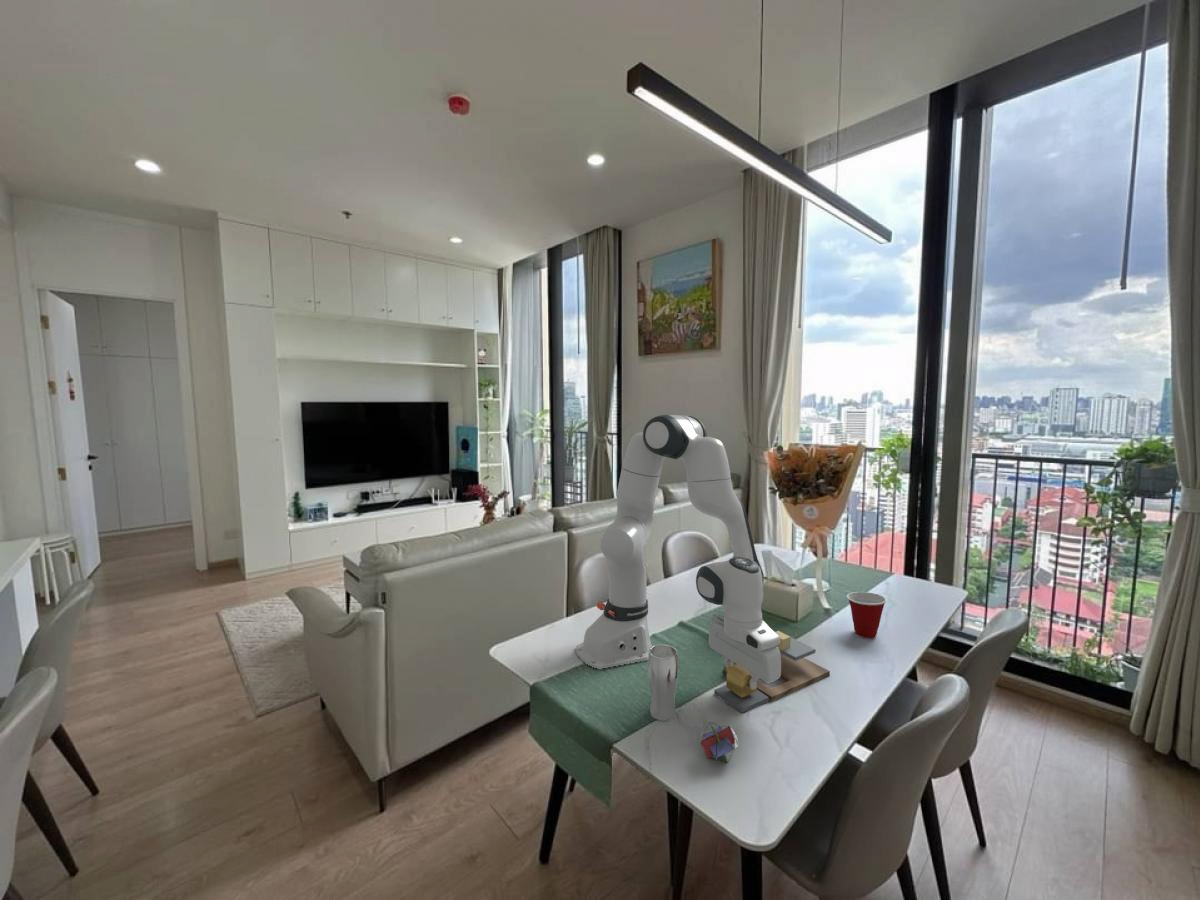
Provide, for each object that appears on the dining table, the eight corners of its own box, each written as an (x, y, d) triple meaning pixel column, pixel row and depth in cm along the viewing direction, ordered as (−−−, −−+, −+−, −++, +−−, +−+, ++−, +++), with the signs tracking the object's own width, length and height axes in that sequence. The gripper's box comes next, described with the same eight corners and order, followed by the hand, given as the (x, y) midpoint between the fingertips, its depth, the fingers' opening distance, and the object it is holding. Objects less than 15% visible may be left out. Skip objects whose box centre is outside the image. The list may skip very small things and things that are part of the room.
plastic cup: (852, 622, 159) (853, 586, 158) (889, 633, 151) (891, 596, 150) (839, 633, 151) (841, 596, 150) (878, 646, 144) (880, 606, 142)
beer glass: (641, 712, 114) (641, 651, 112) (660, 700, 119) (660, 640, 117) (665, 726, 109) (665, 662, 107) (684, 712, 114) (684, 651, 112)
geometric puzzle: (700, 762, 95) (723, 728, 95) (687, 738, 102) (709, 707, 102) (727, 779, 97) (750, 745, 97) (713, 754, 103) (734, 723, 103)
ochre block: (741, 697, 116) (742, 677, 115) (726, 687, 120) (726, 667, 120) (756, 691, 118) (757, 671, 118) (741, 681, 123) (741, 662, 122)
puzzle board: (771, 701, 118) (772, 681, 117) (723, 670, 131) (724, 652, 131) (829, 675, 129) (830, 657, 128) (779, 649, 142) (780, 632, 142)
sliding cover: (795, 660, 126) (795, 646, 125) (758, 641, 136) (759, 627, 136) (815, 652, 130) (816, 638, 129) (778, 634, 140) (778, 621, 140)
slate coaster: (741, 713, 113) (741, 709, 113) (714, 693, 121) (714, 689, 121) (768, 701, 118) (768, 697, 118) (740, 682, 125) (740, 679, 125)
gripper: (703, 613, 125) (702, 665, 126) (767, 647, 107) (765, 707, 109) (721, 608, 128) (720, 658, 130) (786, 640, 111) (784, 698, 112)
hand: (741, 681), depth 119 cm, fingers closed on ochre block, 5 cm apart
